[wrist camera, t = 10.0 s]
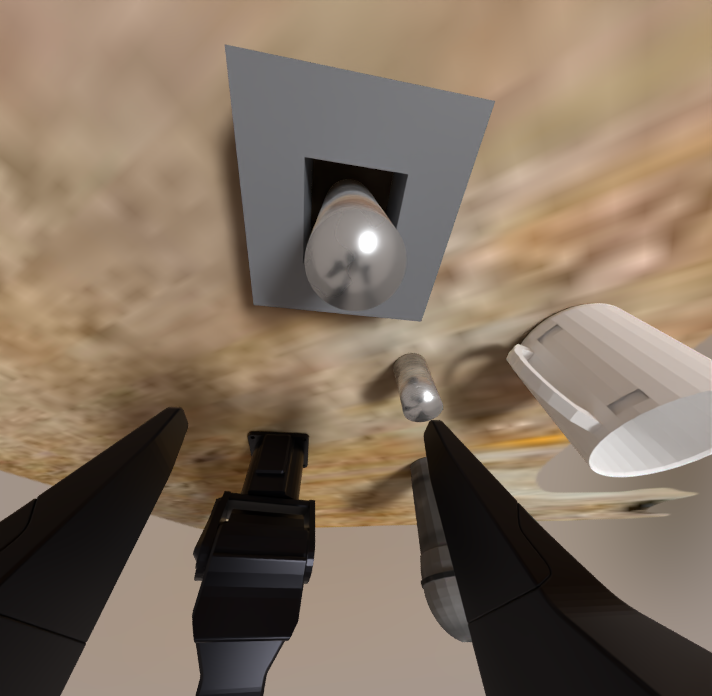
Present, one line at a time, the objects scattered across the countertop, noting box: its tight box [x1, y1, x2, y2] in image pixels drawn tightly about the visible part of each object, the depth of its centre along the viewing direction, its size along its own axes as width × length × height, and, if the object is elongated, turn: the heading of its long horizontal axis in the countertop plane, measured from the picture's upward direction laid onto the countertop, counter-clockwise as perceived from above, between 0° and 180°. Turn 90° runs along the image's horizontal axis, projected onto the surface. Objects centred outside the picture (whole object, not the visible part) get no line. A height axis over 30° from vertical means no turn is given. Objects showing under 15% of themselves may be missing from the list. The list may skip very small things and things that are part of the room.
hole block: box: [225, 45, 495, 321], centre depth 14 cm, size 10×10×4 cm
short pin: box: [393, 353, 443, 422], centre depth 22 cm, size 3×3×5 cm
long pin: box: [304, 179, 407, 311], centre depth 12 cm, size 3×3×10 cm
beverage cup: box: [410, 457, 472, 642], centre depth 26 cm, size 7×7×20 cm
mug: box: [506, 303, 712, 477], centre depth 19 cm, size 12×9×9 cm
